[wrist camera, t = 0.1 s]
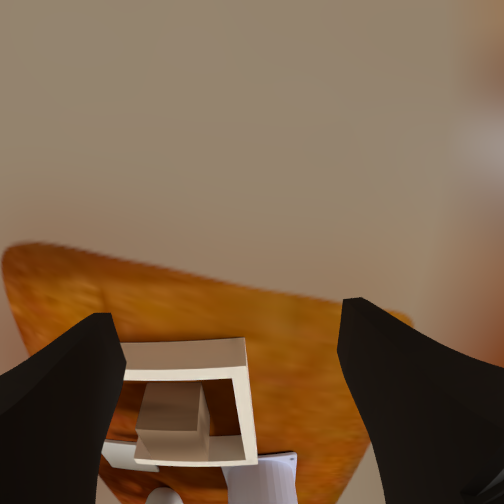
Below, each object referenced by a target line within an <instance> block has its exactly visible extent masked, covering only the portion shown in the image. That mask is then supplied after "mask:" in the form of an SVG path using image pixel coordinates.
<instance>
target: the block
mask: <svg viewBox="0 0 504 504" xmlns="http://www.w3.org/2000/svg"><path fill="white" fill-rule="evenodd" d="M209 429H210V414H209V410H208V406H207V403H206V399H205V395H204V391H203V387H202V383H201V382H186V383H147V386H146V389H145V393H144V397H143V400H142V404H141V408H140V412H139V416H138V420H137V424H136V428H135V430H136V432H137V433H138V435H139V437H140V439H141V441H142V442H143V444H144V446H145V447H146V449H147V451H148V452H149V454H150V456H151V457H152V459H153V460H159V461H183V462H208V453H209Z"/></svg>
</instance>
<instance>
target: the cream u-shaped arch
mask: <svg viewBox="0 0 504 504" xmlns="http://www.w3.org/2000/svg"><path fill="white" fill-rule="evenodd" d="M120 344H121V347H122V350H123V353H124V356H125V359H126V361H127V364H126V369H125V375H124V380H143V381H175V380H208V379H226V378H232V381H233V387H234V393H235V400H236V406H237V412H238V418H239V423H240V429H241V435H234V436H209V453H208V462H183V461H159V460H153V459H152V457H151V456H150V454H149V452H148V451H147V449H146V447H145V446H144V444H143V442H142V441H141V439H140V437H139V436H138V440H137V445H136V449H135V454H134V460H135V461H136V463H138V464H149V465H164V466H192V467H211V466H240V465H255V464H258V458H257V446H256V436H255V427H254V419H253V410H252V401H251V392H250V383H249V374H248V365H247V356H246V346H245V337H243V338H230V339H216V340H199V341H178V342H145V343H120Z"/></svg>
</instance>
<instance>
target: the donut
mask: <svg viewBox="0 0 504 504" xmlns="http://www.w3.org/2000/svg"><path fill="white" fill-rule="evenodd" d="M145 504H183V502H182V500H181V498H180V496H179V495H178V494H177V493H176V492H175V491H174V490H173V489H170V488H167V487H161V488H156V489H154V490H153V491H152V492H151V493H150V494H149V496H148V498H147V500H146V503H145Z"/></svg>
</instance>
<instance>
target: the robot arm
mask: <svg viewBox="0 0 504 504" xmlns="http://www.w3.org/2000/svg"><path fill="white" fill-rule="evenodd" d="M337 354H338V357H339V361H340V365H341V368H342V372H343V375H344V378H345V380H346V383H347V385H348V387H349V390H350V392H351V394H352V397H353V399H354V401H355V404H356V406H357V408H358V410H359V413H360V415H361V417H362V420H363V422H364V424H365V427H366V429H367V431H368V434H369V437H370V440H371V442H372V445H373V449H374V453H375V457H376V461H377V464H378V468H379V472H380V477H381V481H382V485H383V490H384V496H385V501H386V504H504V368H502V367H499V366H495V365H492V364H489V363H486V362H483V361H480V360H477V359H475V358H472V357H469V356H467V355H465V354H462V353H460V352H458V351H455V350H453V349H451V348H449V347H447V346H444V345H442V344H440V343H438V342H437V341H435V340H433V339H431V338H429V337H427V336H425V335H424V334H421V333H420V332H418V331H417V330H415V329H413V328H411V327H410V326H408V325H406V324H405V323H403V322H402V321H400V320H398V319H397V318H395V317H394V316H392V315H390V314H389V313H387V312H386V311H384V310H382V309H381V308H379V307H378V306H376V305H374V304H373V303H371V302H369V301H368V300H366V299H363V298H362V297H359V298H350V299H343V304H342V314H341V322H340V330H339V338H338V346H337ZM126 364H127V361H126V359H125V356H124V353H123V350H122V347H121V344H120V341H119V338H118V335H117V332H116V329H115V325H114V322H113V319H112V315H111V313H93V314H91V315H90V316H88V317H86V318H85V319H83V320H82V321H80V322H79V323H77V324H76V325H75V326H73V327H72V328H70V329H69V330H68V331H66V332H65V333H64V334H62V335H61V336H60V337H58V338H57V339H55V340H54V341H53V342H51V343H50V344H49V345H47V346H46V347H44V348H43V349H41V350H40V351H39V352H37V353H36V354H34V355H33V356H31V357H30V358H28V359H27V360H26V361H24V362H22V363H21V364H19V365H18V366H16V367H14V368H13V369H11V370H9V371H8V372H6V373H4V374H2V375H0V504H95V499H96V487H97V478H98V471H99V464H100V458H101V453H102V449H103V445H104V441H105V438H106V435H107V432H108V428H109V425H110V422H111V419H112V416H113V413H114V410H115V407H116V404H117V401H118V398H119V395H120V392H121V389H122V385H123V380H124V375H125V369H126ZM257 458H258V464H255V465H240V466H221V468H222V471H223V474H224V477H225V480H226V483H227V486H228V504H298V502H297V496H296V490H295V474H296V462H297V454H296V453H295V452H289V453H281V454H272V455H262V456H257Z"/></svg>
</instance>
